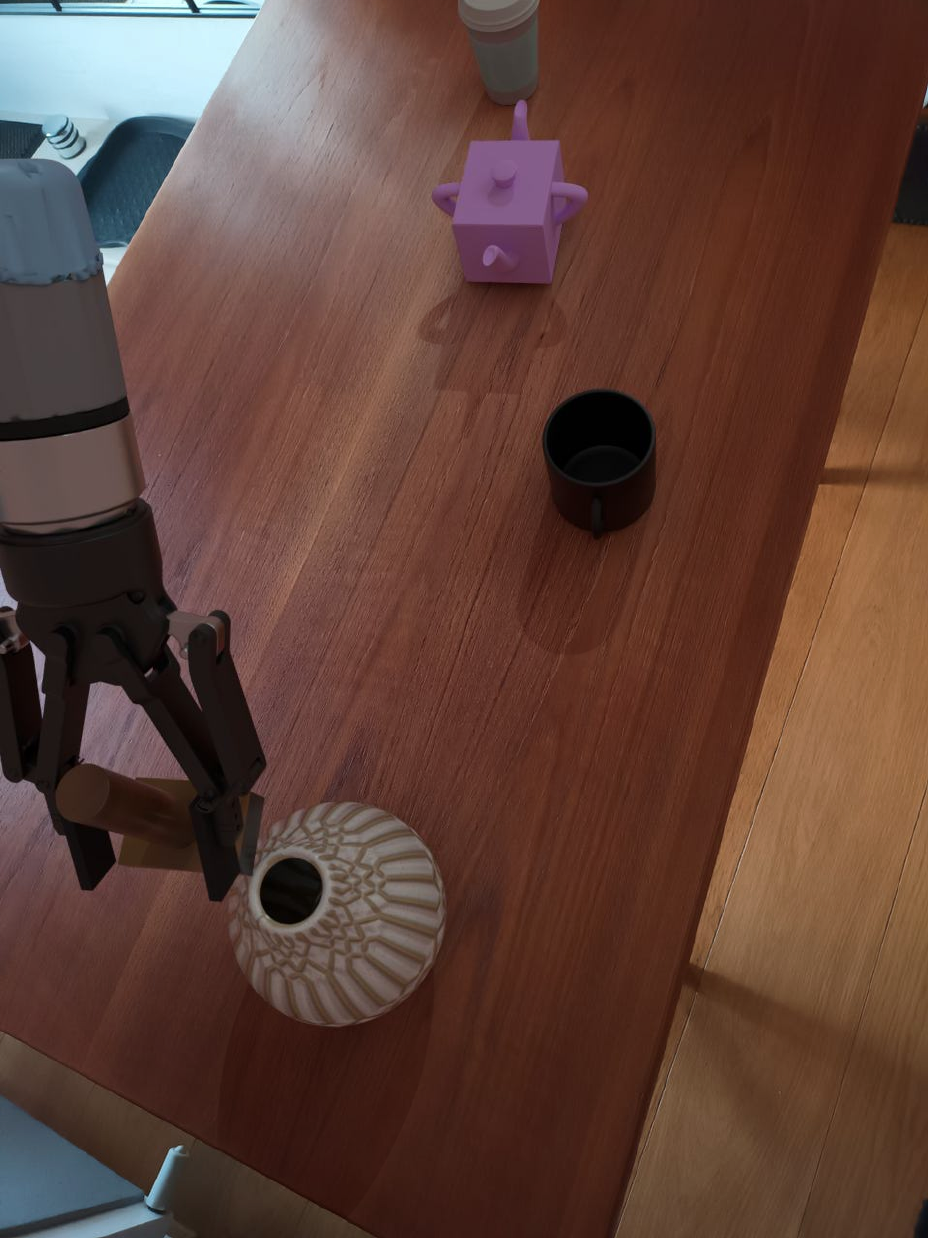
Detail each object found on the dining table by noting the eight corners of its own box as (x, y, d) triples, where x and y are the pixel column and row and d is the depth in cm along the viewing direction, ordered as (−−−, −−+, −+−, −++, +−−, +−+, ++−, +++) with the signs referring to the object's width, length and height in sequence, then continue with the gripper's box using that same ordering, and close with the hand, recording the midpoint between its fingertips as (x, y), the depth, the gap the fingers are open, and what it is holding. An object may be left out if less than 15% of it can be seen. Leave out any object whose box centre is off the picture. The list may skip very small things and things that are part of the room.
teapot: (614, 263, 96) (609, 179, 86) (501, 332, 96) (483, 256, 86) (534, 174, 102) (521, 86, 92) (428, 238, 102) (403, 157, 92)
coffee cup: (516, 46, 109) (500, -59, 98) (565, 81, 106) (555, -24, 95) (459, 90, 108) (437, -11, 97) (507, 126, 105) (491, 26, 94)
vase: (499, 920, 76) (469, 890, 58) (353, 1072, 73) (272, 1091, 55) (369, 782, 82) (303, 715, 64) (228, 919, 79) (117, 889, 61)
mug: (546, 559, 86) (535, 514, 78) (555, 442, 90) (545, 388, 82) (652, 561, 84) (652, 515, 76) (657, 442, 88) (657, 386, 80)
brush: (149, 871, 62) (5, 841, 48) (165, 788, 64) (31, 737, 50) (255, 879, 60) (136, 851, 47) (268, 794, 62) (158, 743, 49)
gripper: (292, 485, 48) (344, 852, 57) (-59, 487, 52) (44, 830, 61) (232, 535, 41) (302, 941, 51) (-165, 534, 45) (-31, 910, 55)
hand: (161, 880), depth 56 cm, fingers closed on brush, 7 cm apart
